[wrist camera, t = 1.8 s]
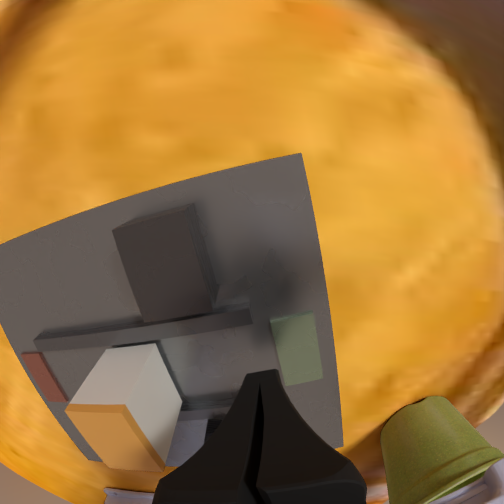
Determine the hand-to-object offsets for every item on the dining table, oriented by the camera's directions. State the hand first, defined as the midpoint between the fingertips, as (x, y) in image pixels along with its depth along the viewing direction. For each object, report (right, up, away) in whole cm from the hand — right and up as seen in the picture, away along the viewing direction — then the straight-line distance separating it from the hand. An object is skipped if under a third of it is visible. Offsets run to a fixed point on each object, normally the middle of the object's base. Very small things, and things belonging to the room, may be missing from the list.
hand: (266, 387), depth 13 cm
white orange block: (-6, -1, +3) cm, 7 cm away
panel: (-6, 0, +4) cm, 8 cm away
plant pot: (+12, -7, +6) cm, 15 cm away
